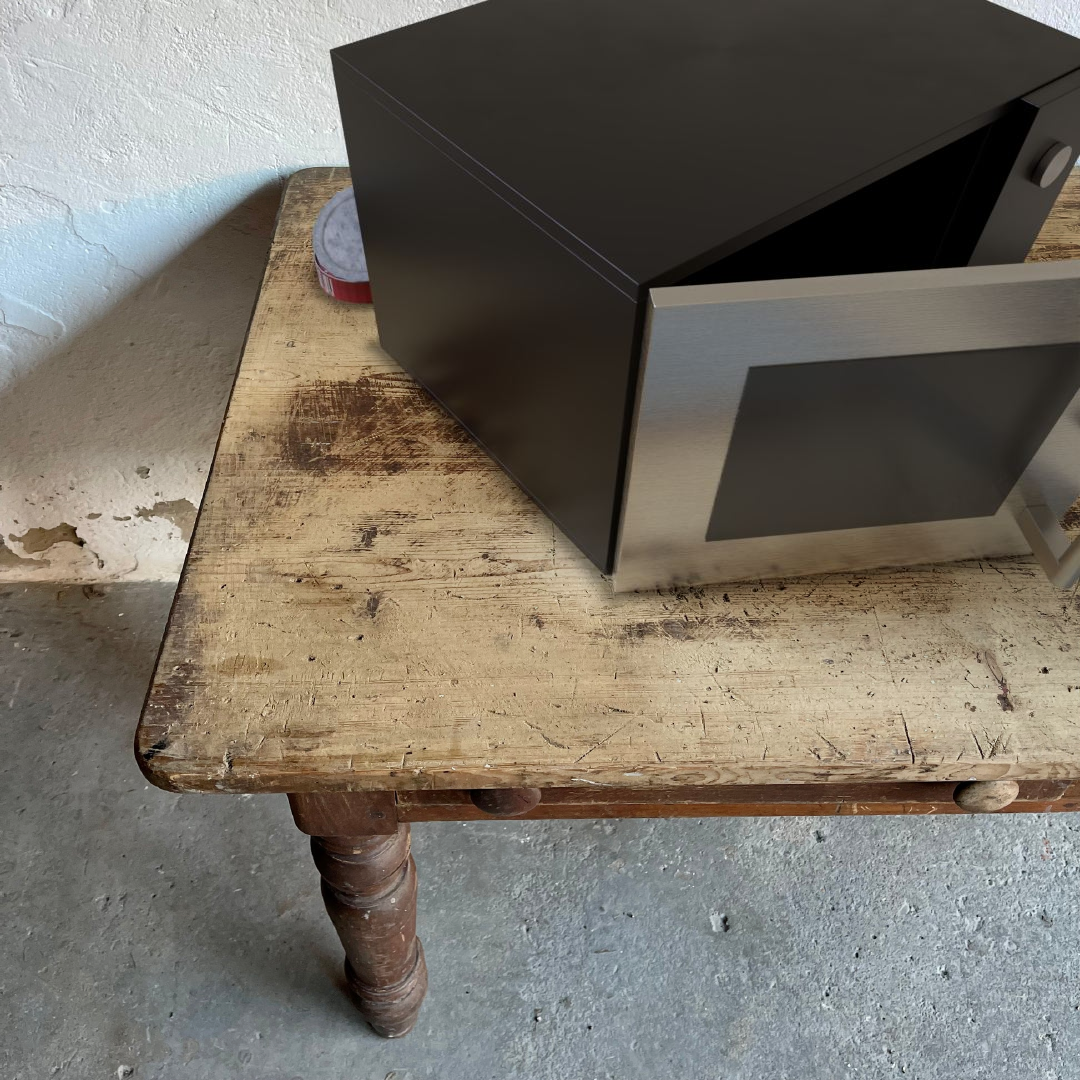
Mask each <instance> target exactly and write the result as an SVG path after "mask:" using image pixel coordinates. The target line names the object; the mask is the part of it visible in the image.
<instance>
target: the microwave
mask: <svg viewBox="0 0 1080 1080" xmlns="http://www.w3.org/2000/svg"><path fill="white" fill-rule="evenodd" d="M329 56H330V60H331V68H332V69H331V70H332V74H333V75H332V76H333V80H334V86H335V91H336V98H337V105H338V109H339V116H340V121H341V127H342V132H343V133H342V134H343V138H344V144H345V150H346V156H347V162H348V166H349V173H350V178H351V183H352V184H351V185H353V191H354V197H355V202H356V208H357V214H358V220H359V226H360V231H361V237H362V243H363V249H364V254H365V260H366V266H367V272H368V278H369V283H370V289H371V295H372V301H373V302H372V306H373V312H374V317H375V323H376V329H377V334H378V335H377V336H378V340H379V346H380V347H381V349H382V350H383V351H384V352H385V353H386V354H387V355H388V356H389V357H390V359H392V360H393V361H394V362H395V363H396V364H397V365H398V366H399V367H400V368H401V369H402V371H404V372H405V373H406V374H407V375H408V376H409V377H410V378H411V379H412V380H413V381H414V382H415V383H416V384H417V386H418V387H420V388H421V390H422V391H424V393H425V394H426V395H427V396H429V398H430V399H431V400H432V401H433V402H434V403H435V404H436V405H437V406H438V407H439V408H440V409H441V410H442V411H443V412H444V413H445V414H446V415H447V416H448V417H449V418H450V419H451V420H452V421H453V422H454V423H455V424H456V425H457V426H458V427H459V428H460V430H461V431H462V432H464V433H465V434H466V435H467V436H468V438H469V439H470V440H471V441H472V442H473V443H474V444H475V445H476V446H477V447H478V448H479V449H480V450H481V451H482V452H483V453H484V454H485V455H486V456H487V457H488V459H490V460H491V462H493V463H494V464H495V465H496V466H497V467H498V469H500V470H501V471H502V472H503V473H504V474H505V475H506V476H507V478H509V479H510V481H511V482H512V483H513V484H515V485H516V486H517V488H519V490H520V492H522V493H523V494H524V495H525V496H526V497H527V498H528V499H529V500H530V501H531V502H532V503H533V504H534V505H535V506H536V507H537V508H538V510H540V511H541V512H542V514H544V515H545V516H546V517H547V518H548V519H549V520H550V521H551V523H552V524H553V525H554V526H556V528H557V529H558V530H559V531H560V532H561V533H562V534H563V535H564V536H565V537H566V538H567V539H568V540H569V541H570V542H571V543H572V544H573V545H574V546H575V547H576V548H577V549H578V550H579V551H580V552H581V553H582V554H583V555H584V557H586V558H587V559H588V560H589V561H590V562H591V563H592V565H594V566H595V567H596V569H598V570H599V572H601V574H602V575H603V576H606V575H608V574H609V573H612V571H613V563H614V556H615V548H616V540H617V532H618V525H619V517H620V509H621V501H622V494H623V486H624V478H625V471H626V463H627V455H628V447H629V440H630V432H631V424H632V416H633V409H634V401H635V393H636V385H637V378H638V370H639V362H640V354H641V347H642V339H643V331H644V324H645V316H646V308H647V300H648V293H649V289H650V288H663V287H677V286H692V285H707V284H722V283H737V282H751V281H766V280H781V279H796V278H811V277H825V276H840V275H855V274H870V273H885V272H899V271H914V270H929V269H944V268H959V267H973V266H988V265H1003V264H1018V263H1025V261H1026V259H1027V257H1028V255H1029V253H1030V252H1031V249H1032V248H1033V246H1034V244H1035V242H1036V240H1037V238H1038V236H1039V234H1040V232H1041V230H1042V228H1043V226H1044V225H1045V223H1046V222H1047V219H1048V217H1049V215H1050V213H1051V211H1052V210H1053V208H1054V205H1055V204H1056V201H1057V200H1058V198H1059V195H1060V194H1061V192H1062V190H1063V188H1064V186H1065V184H1066V182H1067V181H1068V179H1069V177H1070V175H1071V173H1072V171H1073V170H1074V167H1075V165H1076V163H1077V161H1078V160H1079V157H1080V37H1077V36H1075V35H1072V34H1070V33H1067V32H1065V31H1063V30H1060V29H1058V28H1055V27H1053V26H1051V25H1047V24H1046V23H1043V22H1041V21H1039V20H1036V19H1034V18H1032V17H1029V16H1026V15H1024V14H1022V13H1019V12H1017V11H1014V10H1012V9H1009V8H1007V7H1005V6H1002V5H1000V4H997V3H996V2H992V1H990V0H484V1H483V0H482V1H480V2H477V3H473V4H471V5H466V6H464V7H460V8H457V9H455V10H451V11H448V12H445V13H442V14H439V15H435V16H432V17H429V18H427V19H423V20H420V21H419V20H418V21H417V22H413V23H409V24H407V25H404V26H400V27H396V28H394V29H390V30H388V31H387V30H386V31H384V32H381V33H378V34H375V35H371V36H369V37H365V38H362V39H359V40H358V39H357V40H355V41H352V42H349V43H346V44H342V45H339V46H337V47H333V48H330V49H329Z"/></svg>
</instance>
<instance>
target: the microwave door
mask: <svg viewBox="0 0 1080 1080" xmlns="http://www.w3.org/2000/svg"><path fill="white" fill-rule="evenodd" d="M1079 498H1080V259H1078V258H1077V259H1065V260H1063V259H1061V260H1050V261H1034V262H1024V263H1018V264H1003V265H988V266H973V267H959V268H944V269H929V270H914V271H899V272H885V273H870V274H855V275H840V276H825V277H811V278H796V279H781V280H766V281H751V282H737V283H722V284H707V285H692V286H677V287H663V288H650V289H649V293H648V300H647V308H646V316H645V324H644V331H643V339H642V347H641V354H640V362H639V370H638V378H637V385H636V393H635V401H634V409H633V416H632V424H631V432H630V440H629V447H628V455H627V463H626V471H625V478H624V486H623V494H622V501H621V509H620V517H619V525H618V532H617V540H616V548H615V556H614V563H613V571H611V580H612V585H613V590H614V593H616V594H617V593H627V592H638V591H650V590H659V589H670V588H680V587H681V588H682V587H692V586H700V585H701V586H703V585H712V584H721V583H722V584H723V583H733V582H744V581H755V580H756V581H757V580H765V579H778V578H788V577H797V576H807V575H808V576H809V575H817V574H829V573H840V572H851V571H862V570H871V569H880V568H881V569H883V568H894V567H902V566H915V565H924V564H933V563H934V564H935V563H945V562H955V561H967V560H977V559H986V558H988V559H989V558H998V557H1008V556H1019V555H1031V554H1033V555H1034V557H1035V558H1036V560H1037V562H1038V564H1039V565H1040V567H1041V569H1042V571H1043V573H1044V575H1045V576H1046V578H1047V580H1048V582H1049V583H1050V584H1051V585H1052V586H1053V587H1055V588H1057V589H1060V590H1069V589H1071V588H1072V587H1073V586H1074V585H1075V584H1076V583H1077V581H1078V580H1079V579H1080V533H1078V535H1077V536H1076V537H1075V539H1074V540H1073V541H1072V542H1071V540H1070V539H1069V537H1068V535H1067V534H1066V532H1065V530H1064V529H1063V527H1062V525H1061V524H1060V522H1061V521H1062V520H1063V518H1064V517H1065V516H1066V514H1067V513H1068V511H1069V510H1070V509H1071V507H1072V506H1073V505H1074V504H1075V502H1076V501H1077V499H1079Z"/></svg>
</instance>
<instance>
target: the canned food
mask: <svg viewBox="0 0 1080 1080" xmlns="http://www.w3.org/2000/svg"><path fill="white" fill-rule="evenodd" d="M312 250H313V251H314V253H313V261H314V263H315V268H316V273H317V277H318V281H319V284H320V286H321V288H322V290H323V291H324V292H325V293H326V294H328V295H329V296H330V297H332V298H334V299H336V300H339V301H342V302H346V303H351V304H371V303H372V304H373V301H372V295H371V289H370V283H369V278H368V272H367V266H366V260H365V254H364V249H363V243H362V237H361V231H360V226H359V220H358V214H357V208H356V202H355V197H354V191H353V185H352V184H351V185H350V186H348V187H346V188H344V189H341V190H340V191H339V192H338V191H337V192H336V193H334V195H333V196H332V197H331V198H330V199H329V201H328V202H326V204H325V205H324V206H323V207H322V208H321V209H320V210H319V213H318V215H317V218H316V220H315V223H314V225H313V227H312Z"/></svg>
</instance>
